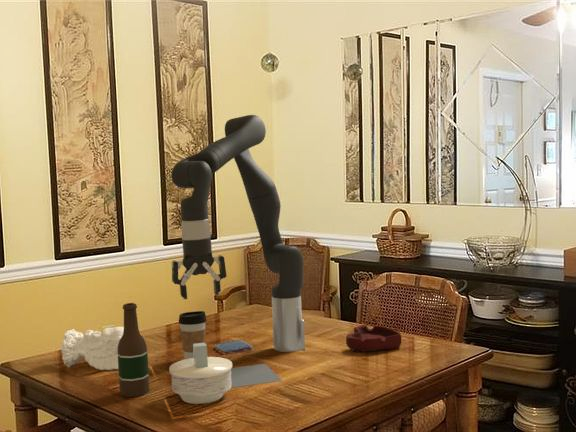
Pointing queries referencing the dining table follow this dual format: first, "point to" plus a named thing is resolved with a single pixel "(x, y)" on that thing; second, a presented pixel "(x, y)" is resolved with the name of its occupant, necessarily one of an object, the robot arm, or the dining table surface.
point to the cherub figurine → (92, 347)
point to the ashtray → (373, 339)
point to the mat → (252, 375)
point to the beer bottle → (132, 356)
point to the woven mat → (233, 347)
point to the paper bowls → (202, 388)
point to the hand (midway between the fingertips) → (200, 296)
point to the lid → (200, 365)
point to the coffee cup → (192, 331)
